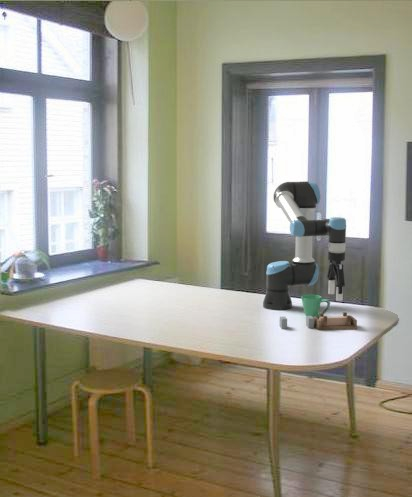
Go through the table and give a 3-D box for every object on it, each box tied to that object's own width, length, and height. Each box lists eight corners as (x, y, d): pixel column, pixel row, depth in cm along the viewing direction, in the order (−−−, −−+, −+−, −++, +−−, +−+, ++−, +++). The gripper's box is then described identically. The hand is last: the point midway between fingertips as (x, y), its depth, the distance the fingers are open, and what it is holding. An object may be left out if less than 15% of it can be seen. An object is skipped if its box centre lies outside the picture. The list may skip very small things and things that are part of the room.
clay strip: (319, 324, 333) (319, 316, 332) (348, 323, 334) (348, 316, 334) (320, 325, 330) (320, 318, 329) (350, 325, 331) (350, 317, 331)
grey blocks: (279, 326, 334) (279, 316, 333) (311, 325, 336) (311, 315, 335) (281, 328, 329) (281, 319, 329) (313, 327, 331) (314, 318, 330)
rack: (313, 325, 336) (313, 312, 335) (351, 324, 337) (351, 311, 336) (318, 330, 327) (318, 317, 326) (356, 329, 328) (357, 316, 328)
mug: (297, 317, 351) (298, 297, 350) (306, 313, 359) (306, 293, 358) (325, 321, 343) (326, 300, 342) (333, 317, 352) (334, 297, 350)
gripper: (321, 247, 339) (320, 291, 342) (336, 256, 314) (334, 303, 318) (337, 247, 340) (335, 291, 343) (352, 256, 315) (351, 303, 319)
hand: (335, 297), depth 330 cm, fingers open, 13 cm apart
